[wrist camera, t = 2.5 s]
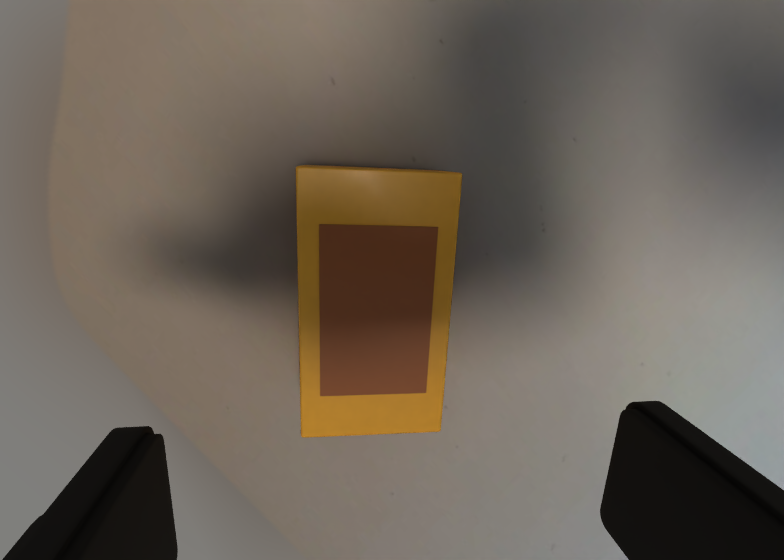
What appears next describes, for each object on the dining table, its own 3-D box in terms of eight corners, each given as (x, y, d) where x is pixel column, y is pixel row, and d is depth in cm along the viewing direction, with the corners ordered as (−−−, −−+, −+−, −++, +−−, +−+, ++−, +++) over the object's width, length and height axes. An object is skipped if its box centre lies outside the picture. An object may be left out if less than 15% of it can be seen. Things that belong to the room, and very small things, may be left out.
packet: (304, 164, 18) (295, 165, 14) (437, 170, 19) (463, 173, 15) (307, 388, 21) (300, 439, 17) (422, 385, 22) (441, 433, 18)
